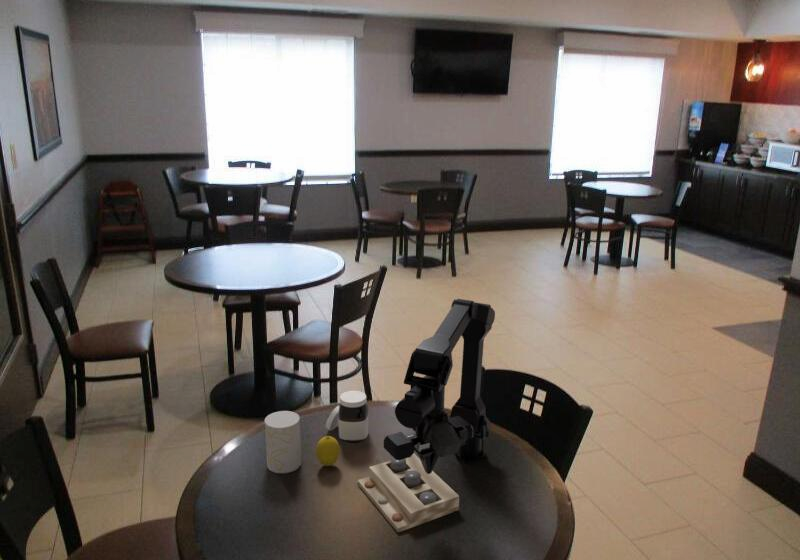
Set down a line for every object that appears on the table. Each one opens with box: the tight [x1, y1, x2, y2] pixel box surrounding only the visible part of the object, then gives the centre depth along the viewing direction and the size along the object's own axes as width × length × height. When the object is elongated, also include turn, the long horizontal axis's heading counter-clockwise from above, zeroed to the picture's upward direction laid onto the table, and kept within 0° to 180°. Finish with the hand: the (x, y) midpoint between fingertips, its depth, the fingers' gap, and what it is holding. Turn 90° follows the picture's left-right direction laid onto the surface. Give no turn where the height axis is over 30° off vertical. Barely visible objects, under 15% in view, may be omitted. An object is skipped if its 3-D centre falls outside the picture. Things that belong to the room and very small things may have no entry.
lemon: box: [316, 435, 341, 467], centre depth 147 cm, size 6×6×8 cm
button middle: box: [404, 470, 421, 488], centre depth 137 cm, size 4×4×2 cm
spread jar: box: [325, 390, 369, 445], centre depth 161 cm, size 12×11×12 cm
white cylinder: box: [264, 410, 302, 474], centre depth 147 cm, size 8×8×12 cm
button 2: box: [420, 492, 436, 505], centre depth 132 cm, size 4×4×2 cm
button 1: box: [390, 457, 406, 473], centre depth 142 cm, size 4×4×2 cm
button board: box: [357, 452, 460, 533], centre depth 137 cm, size 15×19×4 cm
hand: (428, 472), depth 130 cm, fingers closed
